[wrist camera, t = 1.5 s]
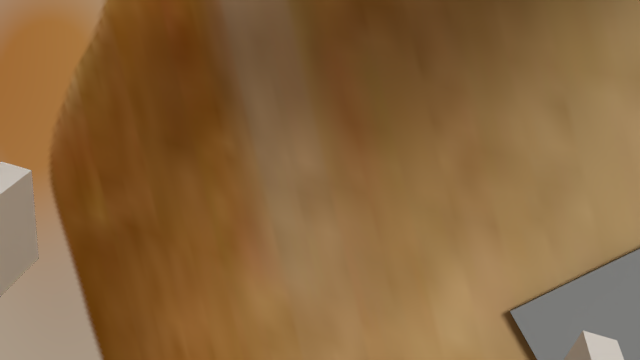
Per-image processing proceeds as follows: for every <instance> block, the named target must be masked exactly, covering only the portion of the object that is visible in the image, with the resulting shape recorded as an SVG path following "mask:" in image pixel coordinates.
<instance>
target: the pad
mask: <svg viewBox="0 0 640 360" xmlns="http://www.w3.org/2000/svg"><path fill="white" fill-rule="evenodd" d="M510 312H511V314H512V316H513V318H514V319H515V321H516V323H517V325H518V327H519V328H520V330H521V332H522V334H523V335H524V337H525V339H526V341H527V342H528V344H529V346H530V348H531V349H532V351H533V353H534V355H535V356H536V358H537V360H564V359H565V357H566V356H567V354H568V353H569V351H570V349H571V348H572V346H573V345H574V343H575V342H576V340H577V339H578V337H579V336H580V334H581V333H582V331H586V332H590V333H593V334H597V335H600V336H604V337H607V338H611V339H614V340H617V341H618V344H619V347H620V350H621V353H622V355H623V358H624V360H640V248H639V249H637V250H634V251H632V252H630V253H628V254H626V255H624V256H622V257H620V258H618V259H616V260H614V261H612V262H610V263H608V264H606V265H603V266H601V267H599V268H597V269H595V270H593V271H591V272H589V273H587V274H585V275H583V276H581V277H579V278H577V279H575V280H572V281H570V282H568V283H566V284H564V285H562V286H560V287H558V288H556V289H554V290H552V291H550V292H548V293H546V294H544V295H542V296H539V297H537V298H535V299H533V300H531V301H529V302H527V303H525V304H523V305H521V306H519V307H517V308H515V309H513V310H511V311H510Z"/></svg>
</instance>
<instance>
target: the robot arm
mask: <svg viewBox="0 0 640 360" xmlns="http://www.w3.org/2000/svg"><path fill="white" fill-rule="evenodd" d="M38 259H39V257H38V244H37V232H36V219H35V208H34V194H33V183H32V171H31V170H29V169H25V168H21V167H18V166H15V165H11V164H8V163H5V162H0V297H1V296H2V295H3V294H4V293H5V292H6V291H7V290H8V289H9V288H10V287H11V286H12V285H13V284H14V283H15V282H16V281H17V280H18V279H19V278H20V277H21V276H22V275H23V274H24V273H25V272H26V271H27V270H28V269H29V268H30V267H31V265H33V264H34V263H35V262H36V261H37V260H38ZM564 360H624V358H623V355H622V353H621V350H620V347H619V344H618V341H617V340H614V339H611V338H607V337H604V336H600V335H597V334H593V333H590V332H586V331H582V333H581V334H580V336H579V337H578V339H577V340H576V342H575V343H574V345H573V346H572V348H571V349H570V351H569V353H568V354H567V356H566V357H565V359H564Z"/></svg>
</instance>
